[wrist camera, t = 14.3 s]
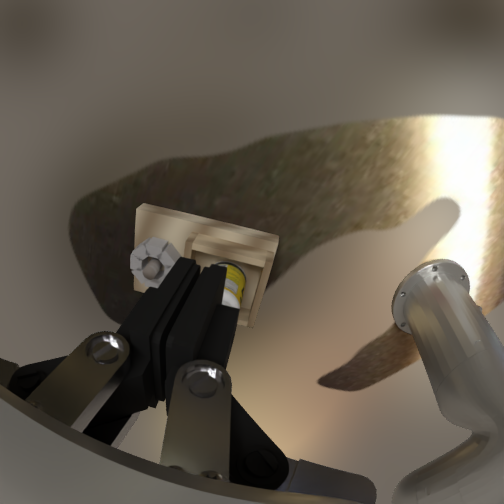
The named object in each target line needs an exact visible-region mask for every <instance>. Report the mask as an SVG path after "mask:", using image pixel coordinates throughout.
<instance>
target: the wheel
mask: <svg viewBox="0 0 504 504" xmlns="http://www.w3.org/2000/svg"><path fill="white" fill-rule="evenodd" d="M148 256H150V257H154V258H157V259H159V260H160V262H161V263H162V264H163V265H164V267H165V270H164V271H160V270H159V272H158V273H157V275H156V276H155V277H154V279H152V280H149V279H146V278H145V277H144V276H143V273H142V272H143V269H144V268H145V267H146V265H147V264H148V263H149V262H148ZM179 257H181V255H180V254H179V252H178V251H177V250H176V248H175V247H174V246H173V244H172V243H170V244H168V240H164V239H160V238H156V237H152V238H150V237H149V238H148V239H146V240H145V241H143V242H142V243H140V244H139V245H138V246H137V247H136V248H135V249H134V250H133V251H132V254H131V268H130V269H133V271H132V273H133V274H134V275H135V276H136V278H137V279H138V280H139V281H140V283H141V284H143V283H144V282H145V286H146V287H155V288H158V287H159V285H160V284H161V283H162V281H163V280H164V278H165V277H166V275H167V274H168V272H169V271H170V270H171V268H172V267H173V265H174V264H175V263H176V261H177V260H178V258H179Z"/></svg>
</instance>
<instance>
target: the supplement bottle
mask: <svg viewBox="0 0 504 504" xmlns="http://www.w3.org/2000/svg"><path fill="white" fill-rule="evenodd" d="M215 265H220V266H224V267H227V275H226V281H225V287H224V294H223V300H222V305H226V306H230V307H235V308H239V309H240V307H241V303H242V298H243V294H244V290H245V285H246V275H245V272H244V270H243V269H242V268H241V267H240V266H239V265H237V264H236V263H233V262H230V261H220V262H217V263H215ZM239 312H240V311H239Z"/></svg>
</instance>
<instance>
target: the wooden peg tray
mask: <svg viewBox="0 0 504 504" xmlns="http://www.w3.org/2000/svg"><path fill="white" fill-rule="evenodd" d="M149 237H150V238H152V237H156V238H160V239H164V240H168V244H170V243H172V244H173V246H174V247H175V248H176V250H177V251H178V252H179V254H180V255H181V257H185V258H190V259H194V260H196V264H197V265H200V266H201V271H200V274H201V272H202V270H203V268H204V267H205V266H206V267H210V265H211V264H215V263H217V262H220V261H230V262H233V263H236V264H237V265H239V266H240V267H241V268H242V269H243V270H244V272H245V275H246V285H245V290H244V294H243V298H242V303H241V307H240V312H239V317H238V322H237V324H238V325H242V326H246V327H251V328H253V327H254V323H255V320H256V317H257V314H258V310H259V307H260V304H261V300H262V297H263V294H264V291H265V288H266V284H267V281H268V278H269V274H270V271H271V268H272V264H273V260H274V257H275V253H276V250H277V246H278V242H279V236H278V235H274V234H270V233H266V232H262V231H258V230H254V229H250V228H246V227H242V226H238V225H234V224H229V223H225V222H221V221H217V220H213V219H209V218H205V217H201V216H196V215H192V214H188V213H184V212H179V211H175V210H171V209H167V208H162V207H158V206H154V205H149V204H145V203H143V204H142V205H141V206H139V207H138V208H137V209H136V226H135V248H136V247H137V246H138V245H139V244H140V243H142V242H143V241H145V240H146V239H148V238H149ZM148 262H149V263H148V264H147V265H146V267H145V268H144V269H143V272H142V273H143V276H144V277H145V278H146V279H149V280H152V279H154V277H155V276H156V275H157V273H158V272H159V270H160V271H164V270H165V267H164V265H163V264H162V263H161V262H160V260H159V259H157V258H154V257H150V256H148ZM148 288H149V287H146V286H145V282H144V283H143V284H141V283H140V281H139V280H138V279H137V278H136V276H135V275H134V290H137V291H140V292H143V293H145V291H146V290H147V289H148Z"/></svg>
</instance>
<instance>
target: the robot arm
mask: <svg viewBox="0 0 504 504" xmlns="http://www.w3.org/2000/svg"><path fill="white" fill-rule="evenodd" d="M200 271H201V266H200V265H197V264H196V260H194V259H190V258H185V257H179V258H178V260H177V261H176V263H175V264H174V265H173V267H172V268H171V270H170V271H169V272H168V274H167V275H166V277H165V278H164V280H163V281H162V283H161V284H160V285H159V287H158V288H155V287H149V288H148V289H147V290H146V291H145V293H144V294H143V295H142V297H141V298H140V300H139V301H138V302H137V304H136V305H135V307H134V308H133V309H132V311H131V312H130V314H129V315H128V316H127V318H126V319H125V321H124V322H123V324H122V325H121V326H120V328H119V329H118V331H117V332H116V333H114V332H111V331H100V332H96V333H94V334H91V335H90V336H88V337H87V338H85V339H84V340H83V342H81V343H80V344H79V345H78V346H77V347H76V348H75V349H74V350H73V351H72V353H70V354H69V355H68V356H64V357H59V358H55V359H51V360H47V361H42V362H38V363H33V364H29V365H25V366H23V367H19V365H18V364H16V363H14V362H10V361H7V360H4V359H1V358H0V504H375V502H376V495H377V494H376V488H375V486H374V483H373V482H372V481H371V480H369V479H368V478H367V477H364V476H362V475H359V474H354V473H350V472H346V471H342V470H338V469H334V468H330V467H326V466H323V465H319V464H316V463H312V462H309V461H306V460H302V459H300V460H299V461H297V460H293V459H290V458H287V457H286V456H285V455H284V453H283V452H282V451H281V450H280V449H279V448H278V447H277V445H275V443H274V442H273V441H272V440H271V439H270V438H269V437H268V436H267V435H266V434H265V432H264V431H263V430H262V429H261V428H260V427H259V426H258V425H257V423H256V422H255V421H254V420H253V419H252V418H251V417H250V416H249V414H248V413H247V412H246V411H245V410H244V408H243V407H242V406H241V405H240V404H239V403H238V401H237V400H236V399H235V398H234V397H233V395H232V394H231V391H232V389H231V388H232V383H231V377H230V375H229V374H228V372H227V371H226V367H227V363H228V359H229V355H230V352H231V347H232V344H233V340H234V336H235V331H236V326H237V322H238V317H239V311H240V309H239V308H235V307H230V306H226V305H222V300H223V294H224V287H225V281H226V275H227V267H224V266H220V265H215V264H211V265H210V267H206V266H205V267H204V268H203V270H202V272H201V274H200ZM469 290H470V283H469V278H468V275H467V273H466V272H465V270H464V269H463V268H462V267H461V266H460V265H459V264H458V263H456V262H454V261H451V260H448V259H437V260H432V261H429V262H426V263H424V264H422V265H420V266H418V267H417V268H415V269H414V270H413V271H411V272H410V273H409V274H408V275H407V276H406V277H405V278H404V279H403V281H402V282H401V283H400V284H399V286H398V288H397V290H396V291H395V294H394V297H393V300H392V314H393V318H394V320H395V322H396V324H397V326H398V327H399V328H400V329H401V330H403V331H404V332H406V333H408V334H412V335H413V338H414V340H415V343H416V345H417V348H418V350H419V353H420V356H421V358H422V361H423V363H424V366H425V369H426V372H427V374H428V377H429V380H430V383H431V386H432V388H433V391H434V394H435V397H436V400H437V403H438V406H439V409H440V411H441V413H442V414H443V416H444V417H445V418H446V419H447V420H448V421H449V422H451V423H452V424H454V425H457V426H460V427H462V428H466V429H469V430H471V431H472V435H471V436H470V437H469V438H468V439H467V440H466V441H464V442H463V443H461V444H460V445H459V446H457V447H456V448H454V449H452V450H451V451H449V452H447V453H446V454H444V455H442V456H440V457H438V458H437V459H435V460H433V461H431V462H429V463H427V464H426V465H424V466H422V467H420V468H418V469H416V470H414V471H413V472H411V473H409V474H408V475H407V476H405V477H404V478H403V479H402V480H401V481H400V482H399V483H398V485H397V486H396V488H395V490H394V493H393V497H392V504H504V346H503V345H502V343H501V342H500V340H499V338H498V337H497V335H496V333H495V332H494V330H493V329H492V327H491V326H490V324H489V323H488V321H487V320H486V318H485V317H484V315H483V314H482V308H481V307H480V306H477V305H476V303H475V302H474V301H473V299H472V298H471V296H470V295H469ZM165 398H166V411H167V416H168V418H167V423H166V428H165V435H164V440H163V446H162V451H161V458H160V464H157V463H154V462H151V461H148V460H145V459H142V458H140V457H137V456H134V455H132V454H129V453H126V452H124V451H121V450H119V449H117V448H118V447H119V445H120V444H121V442H122V440H123V439H124V438H125V436H126V435H127V433H128V432H129V430H130V429H131V427H132V426H133V424H134V423H135V421H136V420H137V418H138V416H139V414H140V411H143V410H146V409H147V408H148V406H150V407H153V408H156V406H157V403H158V401H164V400H165Z"/></svg>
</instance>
